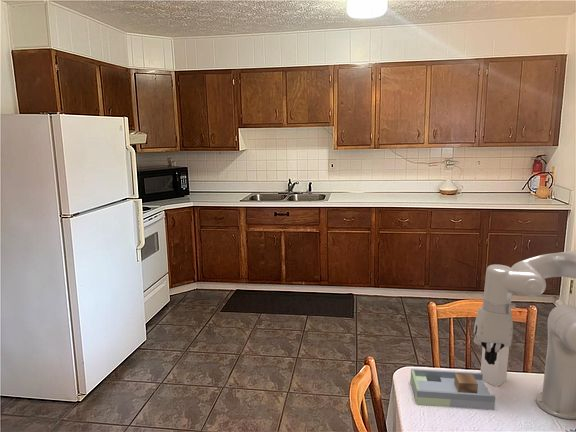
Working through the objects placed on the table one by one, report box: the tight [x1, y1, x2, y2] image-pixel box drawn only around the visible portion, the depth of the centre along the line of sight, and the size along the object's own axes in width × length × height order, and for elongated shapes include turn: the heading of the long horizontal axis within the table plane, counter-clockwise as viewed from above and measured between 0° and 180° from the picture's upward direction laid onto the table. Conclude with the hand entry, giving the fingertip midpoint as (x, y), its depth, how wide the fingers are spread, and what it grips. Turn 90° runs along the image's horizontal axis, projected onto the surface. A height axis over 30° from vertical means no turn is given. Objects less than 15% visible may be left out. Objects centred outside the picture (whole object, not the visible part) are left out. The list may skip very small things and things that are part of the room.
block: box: [454, 373, 478, 394], centre depth 137 cm, size 6×6×4 cm
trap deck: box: [410, 368, 496, 411], centre depth 138 cm, size 22×13×4 cm, turn 83°
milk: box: [479, 343, 510, 388], centre depth 144 cm, size 6×6×22 cm
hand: (490, 362), depth 135 cm, fingers closed
